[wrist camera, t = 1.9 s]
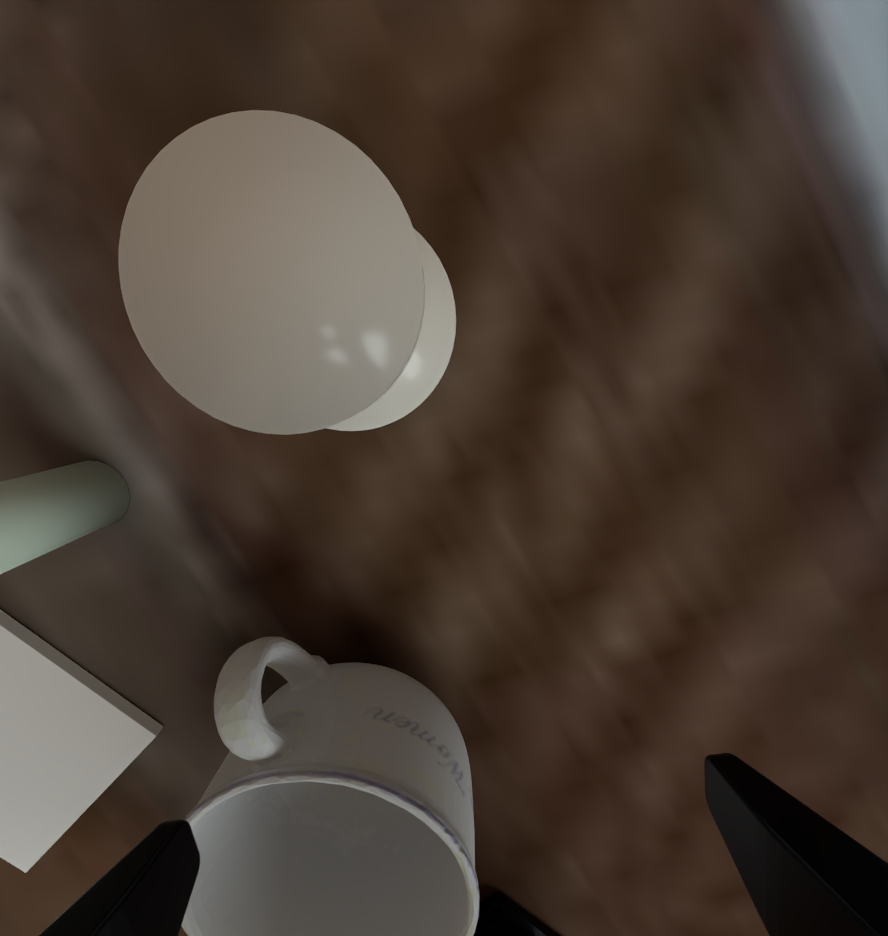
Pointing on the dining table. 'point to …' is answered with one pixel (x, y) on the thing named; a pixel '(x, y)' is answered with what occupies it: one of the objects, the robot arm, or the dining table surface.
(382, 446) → the dining table surface
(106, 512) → the post
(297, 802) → the teacup
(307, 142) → the vase
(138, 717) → the mat
